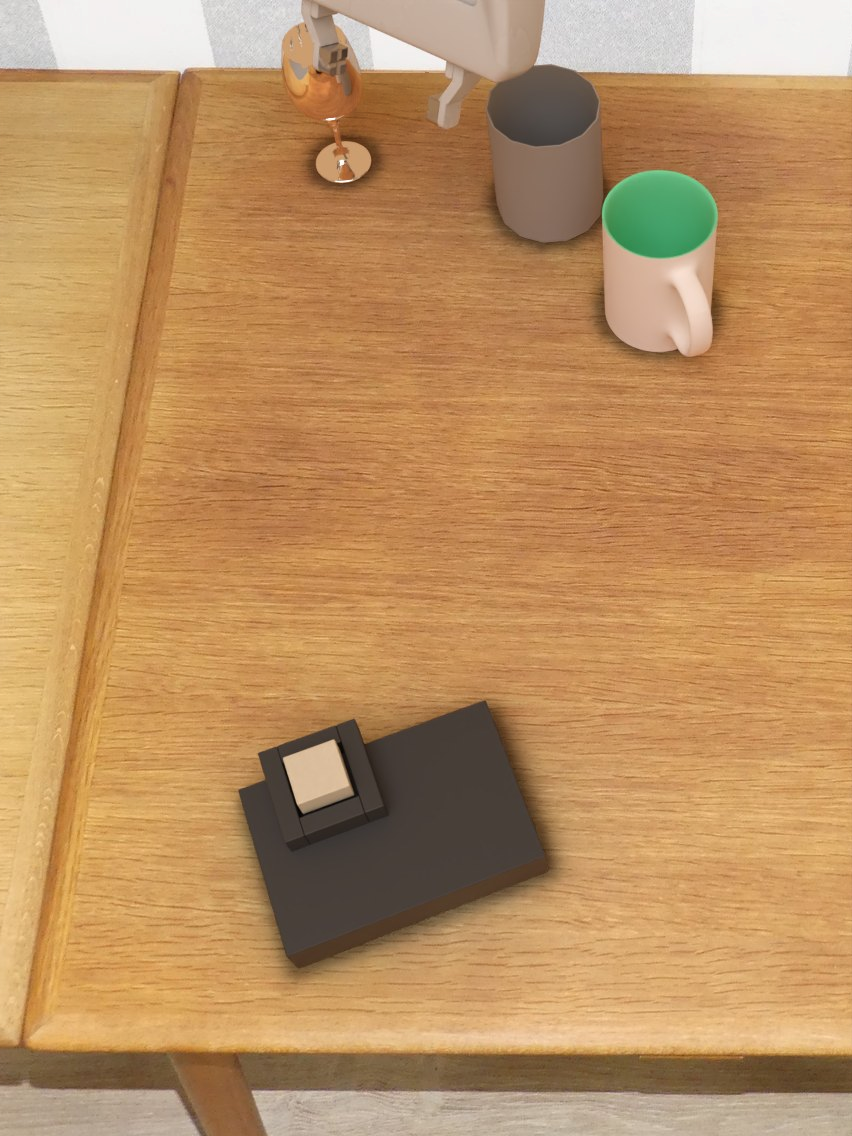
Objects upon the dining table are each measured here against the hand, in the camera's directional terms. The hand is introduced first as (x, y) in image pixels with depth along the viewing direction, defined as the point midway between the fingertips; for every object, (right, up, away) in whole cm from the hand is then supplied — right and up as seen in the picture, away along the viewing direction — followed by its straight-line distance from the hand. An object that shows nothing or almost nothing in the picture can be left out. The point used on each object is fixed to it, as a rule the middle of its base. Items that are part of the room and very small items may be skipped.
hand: (384, 97), depth 95 cm
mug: (+19, -13, +13) cm, 27 cm away
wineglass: (-7, +2, +21) cm, 22 cm away
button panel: (+2, -48, -5) cm, 48 cm away
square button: (-2, -44, -8) cm, 45 cm away
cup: (+10, -2, +19) cm, 21 cm away
